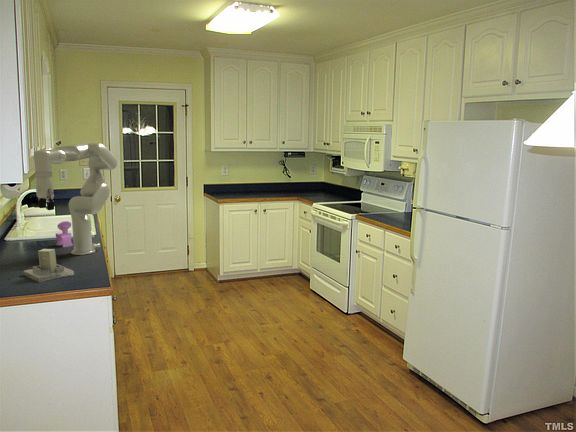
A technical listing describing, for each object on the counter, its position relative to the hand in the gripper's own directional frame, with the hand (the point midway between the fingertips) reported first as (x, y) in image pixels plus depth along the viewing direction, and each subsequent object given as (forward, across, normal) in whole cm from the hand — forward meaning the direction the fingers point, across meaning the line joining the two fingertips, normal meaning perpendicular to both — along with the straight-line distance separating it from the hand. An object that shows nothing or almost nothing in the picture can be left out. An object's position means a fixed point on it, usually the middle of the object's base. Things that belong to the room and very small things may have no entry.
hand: (46, 208), depth 254 cm
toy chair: (+29, -36, +23) cm, 51 cm away
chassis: (+28, +21, -10) cm, 37 cm away
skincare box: (+28, +21, -10) cm, 37 cm away
